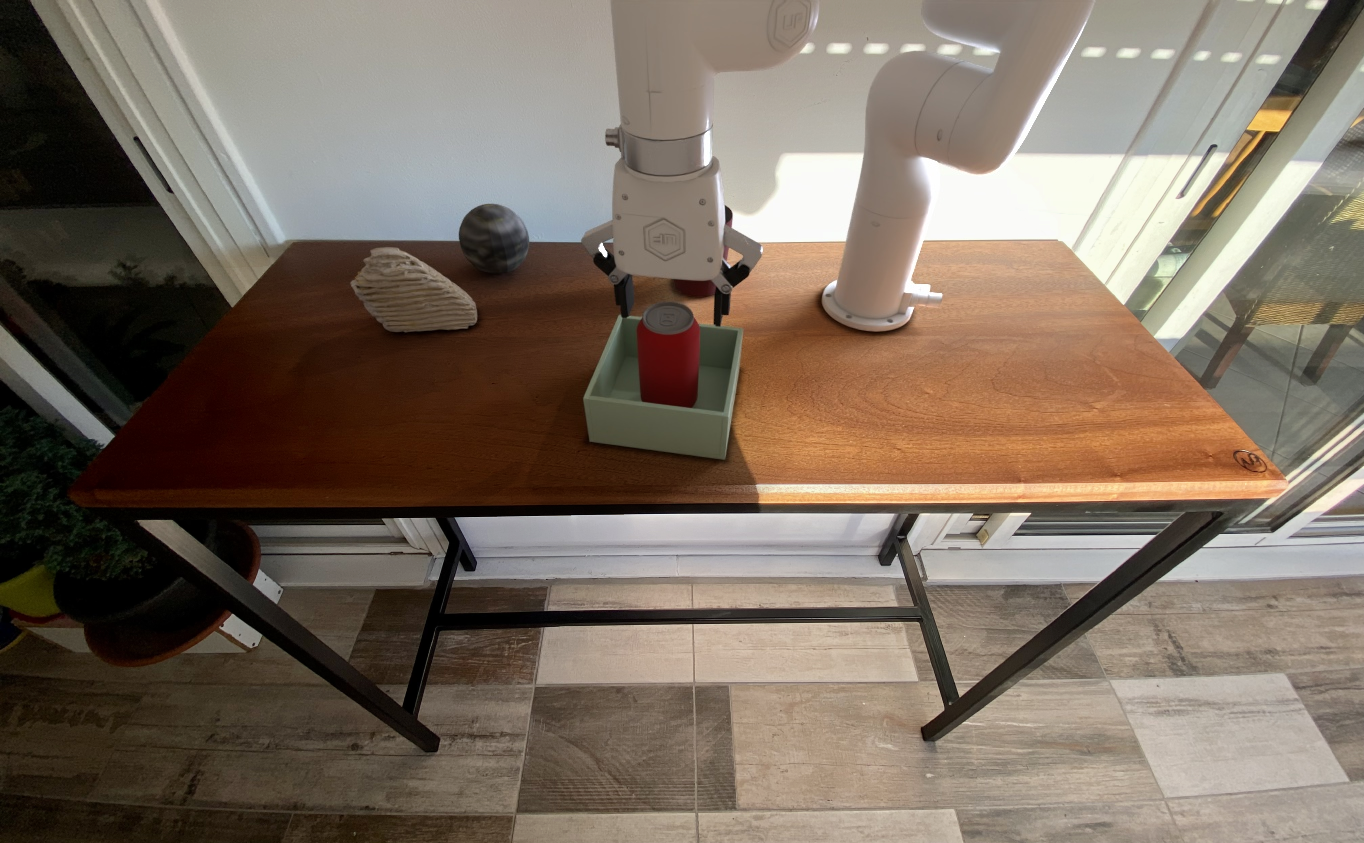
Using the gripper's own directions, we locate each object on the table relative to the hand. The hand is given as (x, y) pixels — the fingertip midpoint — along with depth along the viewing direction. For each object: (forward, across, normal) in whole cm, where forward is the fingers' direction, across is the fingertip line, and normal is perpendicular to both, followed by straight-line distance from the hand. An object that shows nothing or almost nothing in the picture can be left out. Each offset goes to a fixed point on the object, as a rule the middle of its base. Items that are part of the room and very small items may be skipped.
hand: (673, 314), depth 62 cm
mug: (+13, -2, +27) cm, 30 cm away
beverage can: (+12, -1, -1) cm, 12 cm away
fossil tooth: (+12, -37, +9) cm, 40 cm away
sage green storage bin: (+12, -1, -1) cm, 13 cm away
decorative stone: (+13, -32, +24) cm, 42 cm away
